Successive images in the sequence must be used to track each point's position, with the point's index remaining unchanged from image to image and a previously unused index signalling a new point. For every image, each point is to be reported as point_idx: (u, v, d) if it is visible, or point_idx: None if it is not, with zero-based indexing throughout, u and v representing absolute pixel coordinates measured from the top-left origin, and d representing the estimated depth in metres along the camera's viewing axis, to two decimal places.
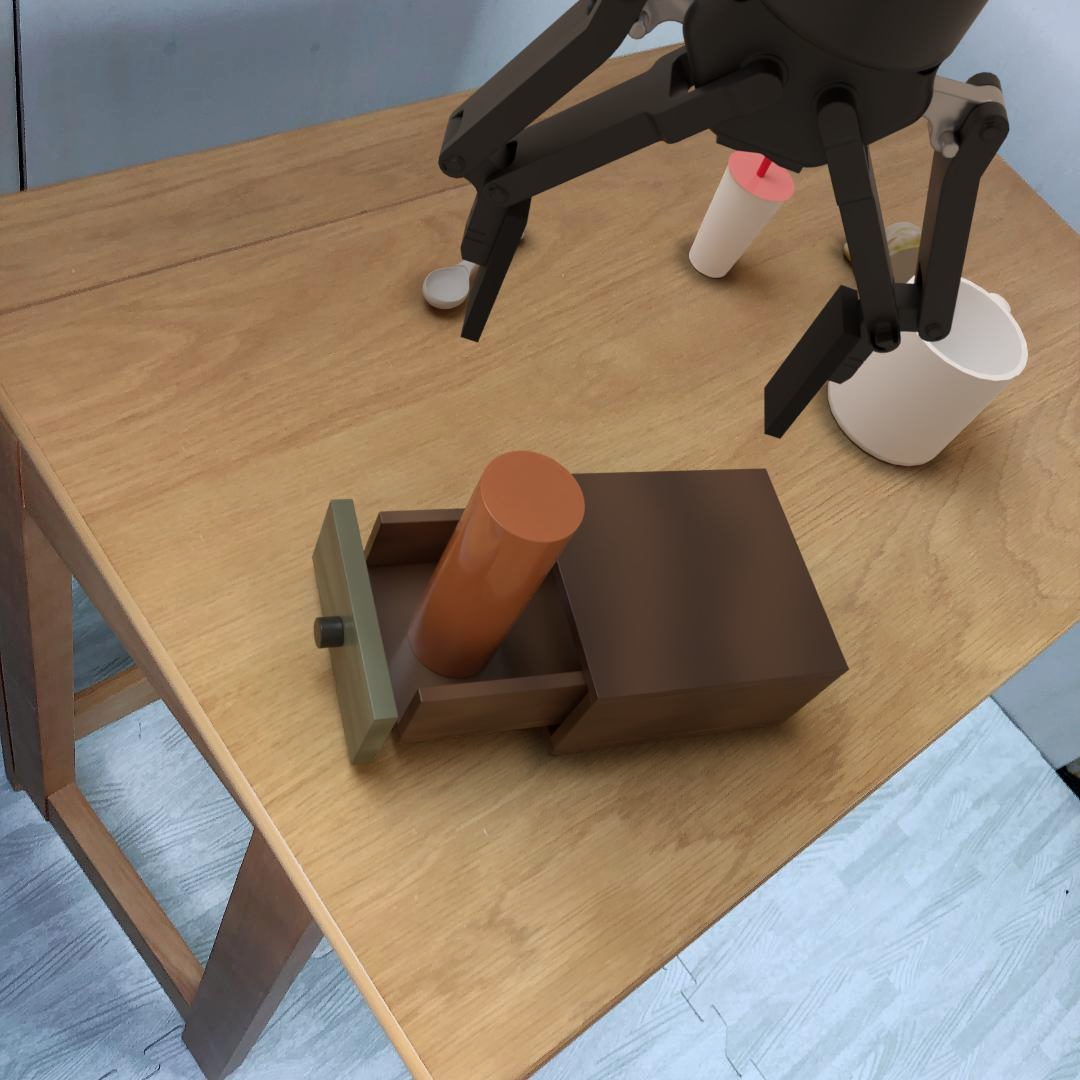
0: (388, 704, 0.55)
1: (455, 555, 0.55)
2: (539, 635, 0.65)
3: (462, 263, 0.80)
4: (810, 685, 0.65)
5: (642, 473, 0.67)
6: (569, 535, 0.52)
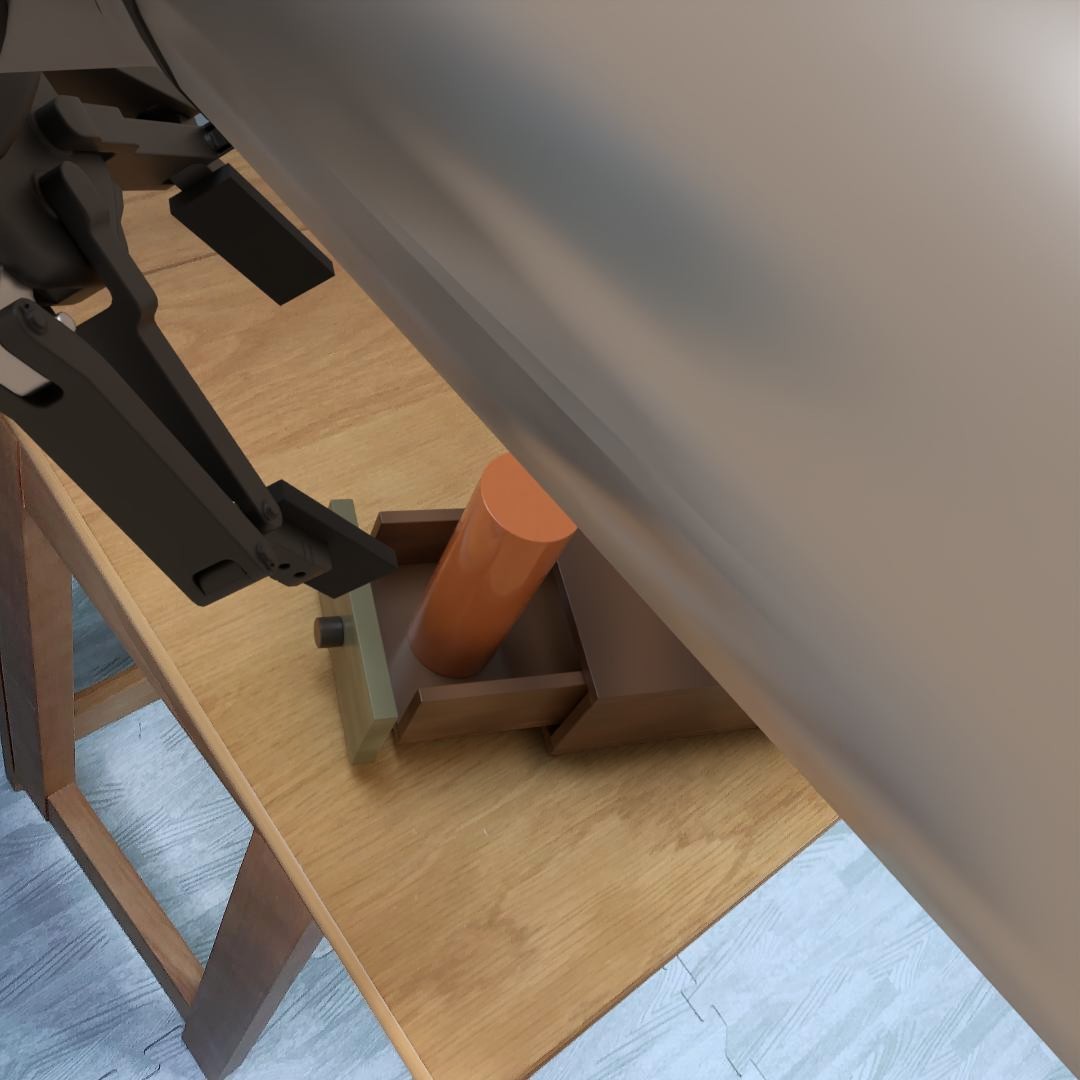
0: (388, 704, 0.55)
1: (455, 555, 0.55)
2: (539, 635, 0.65)
3: None
4: None
5: None
6: (569, 535, 0.52)
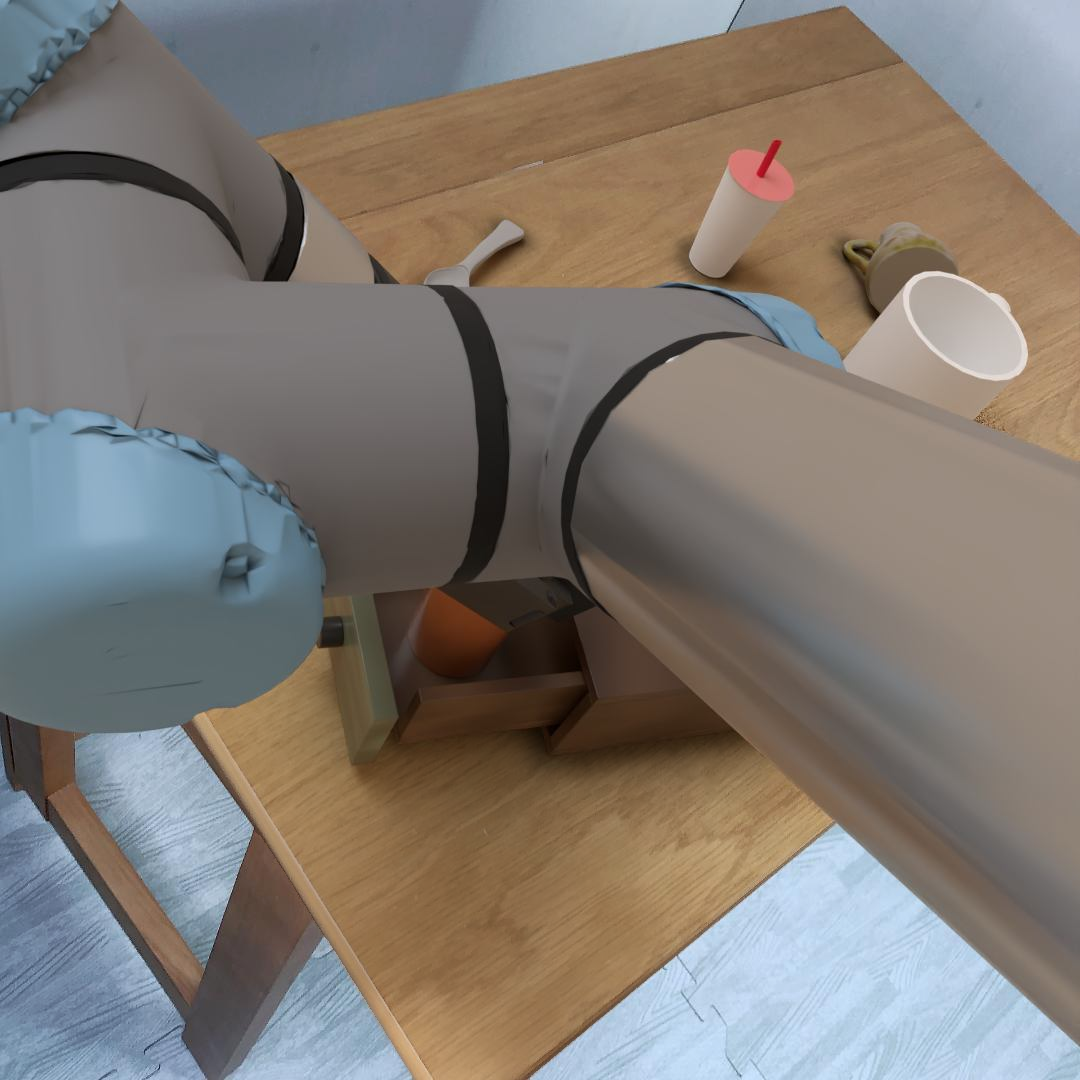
0: (388, 704, 0.55)
1: None
2: (539, 635, 0.65)
3: (462, 263, 0.80)
4: None
5: None
6: None
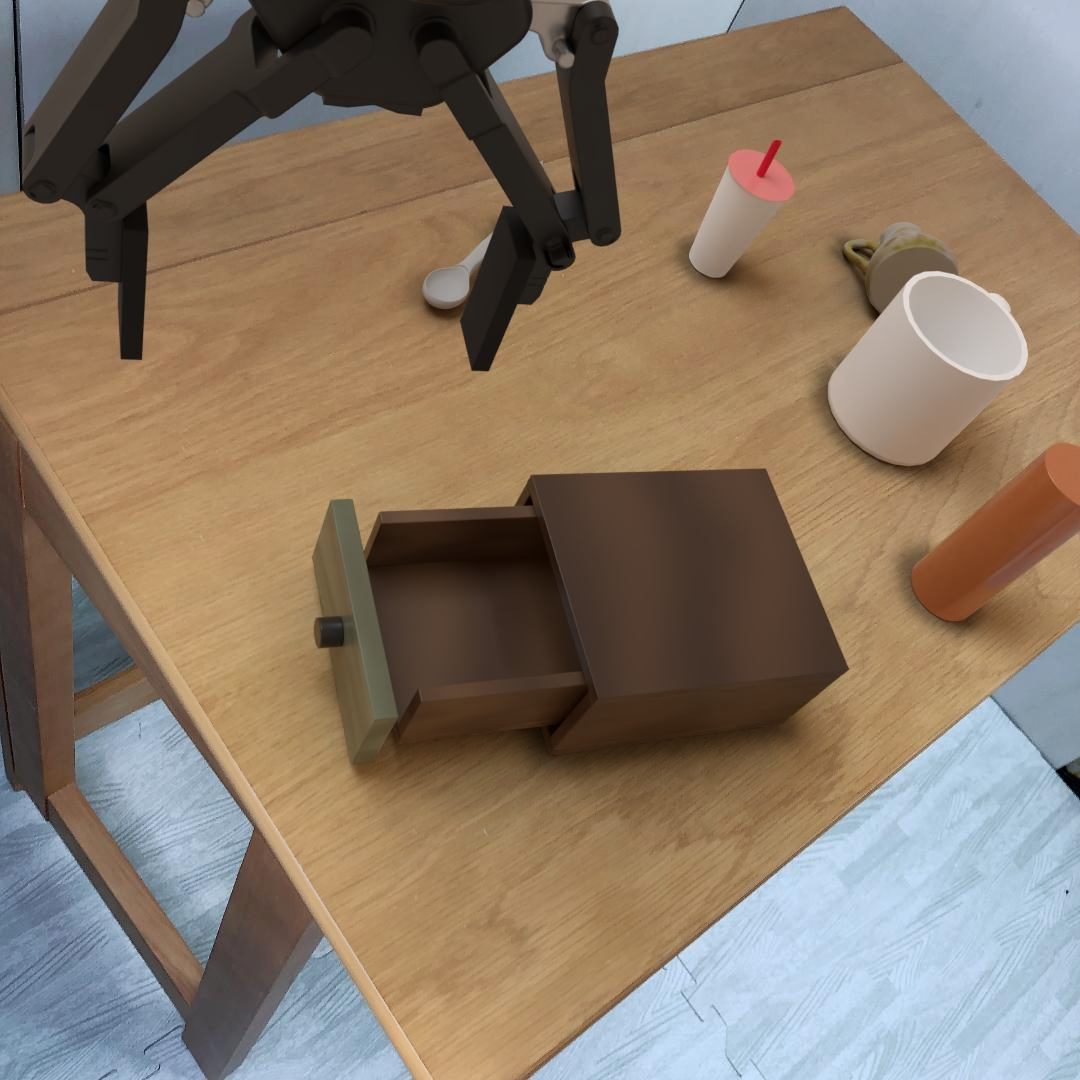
0: (388, 704, 0.55)
1: (1001, 522, 0.72)
2: (539, 635, 0.65)
3: (462, 263, 0.80)
4: (810, 685, 0.65)
5: (642, 473, 0.67)
6: None
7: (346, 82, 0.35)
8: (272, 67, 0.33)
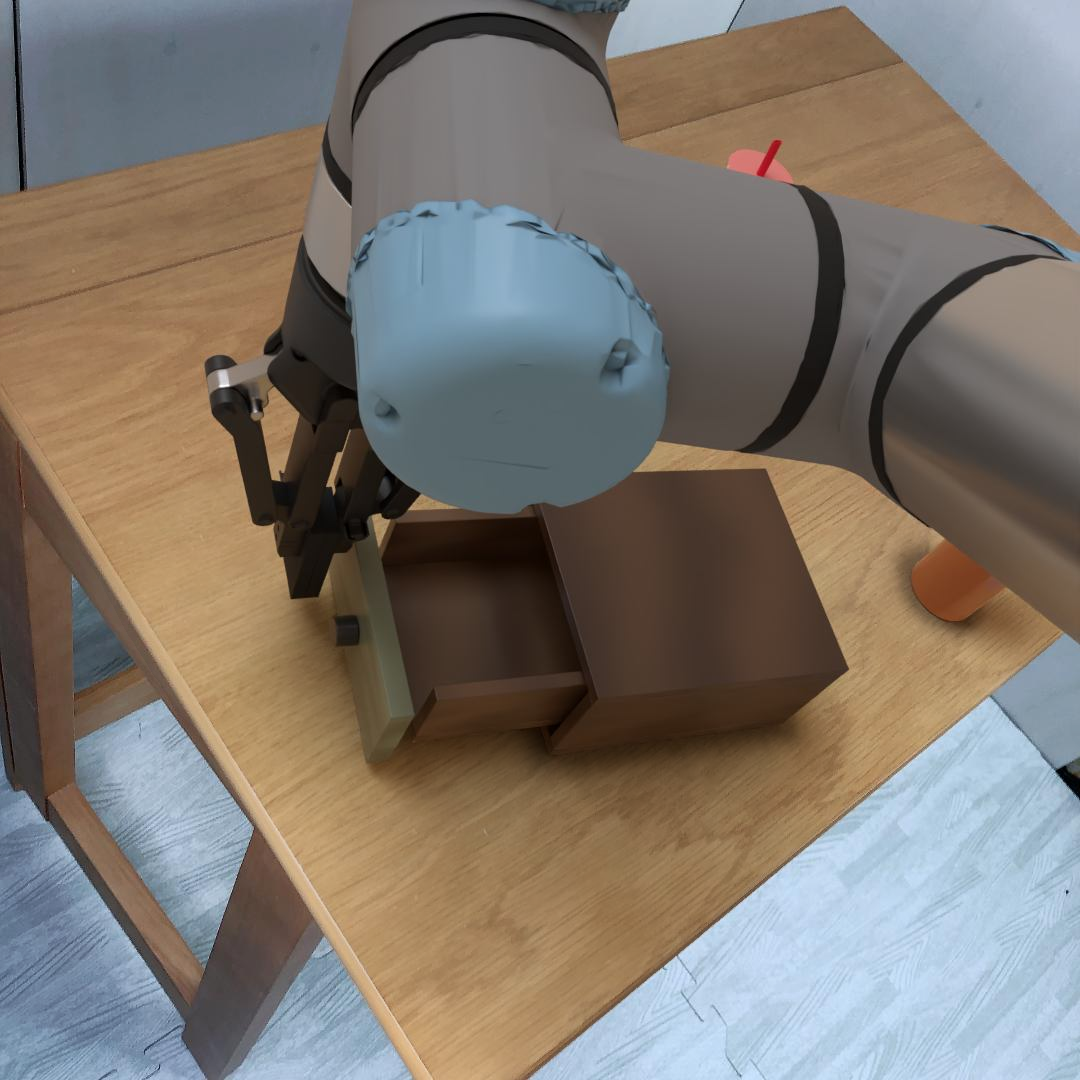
0: (404, 702, 0.55)
1: None
2: (552, 634, 0.66)
3: None
4: (810, 685, 0.65)
5: (642, 473, 0.67)
6: None
7: None
8: (317, 433, 0.48)
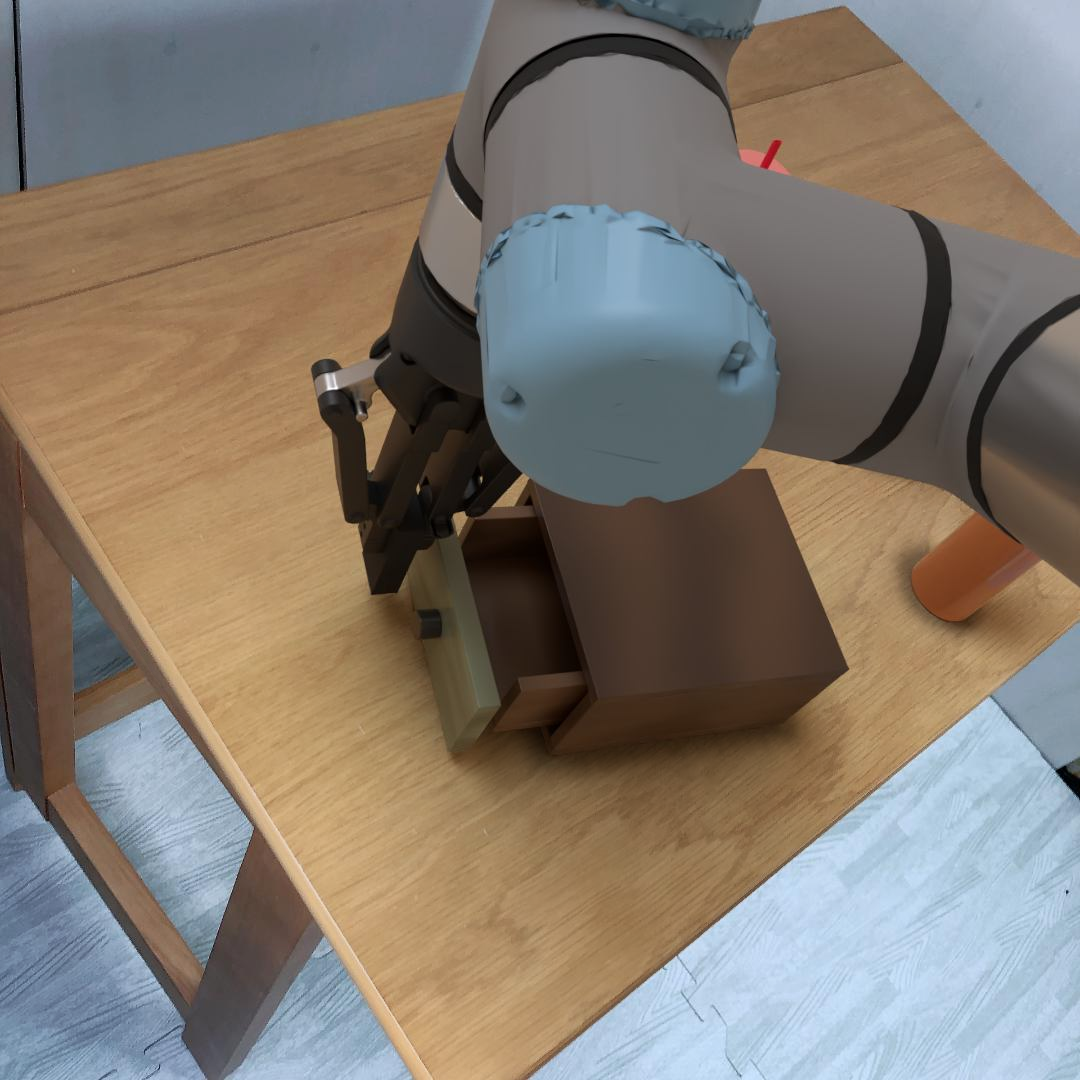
0: (491, 693, 0.57)
1: None
2: None
3: None
4: (810, 685, 0.65)
5: None
6: None
7: None
8: (416, 434, 0.50)
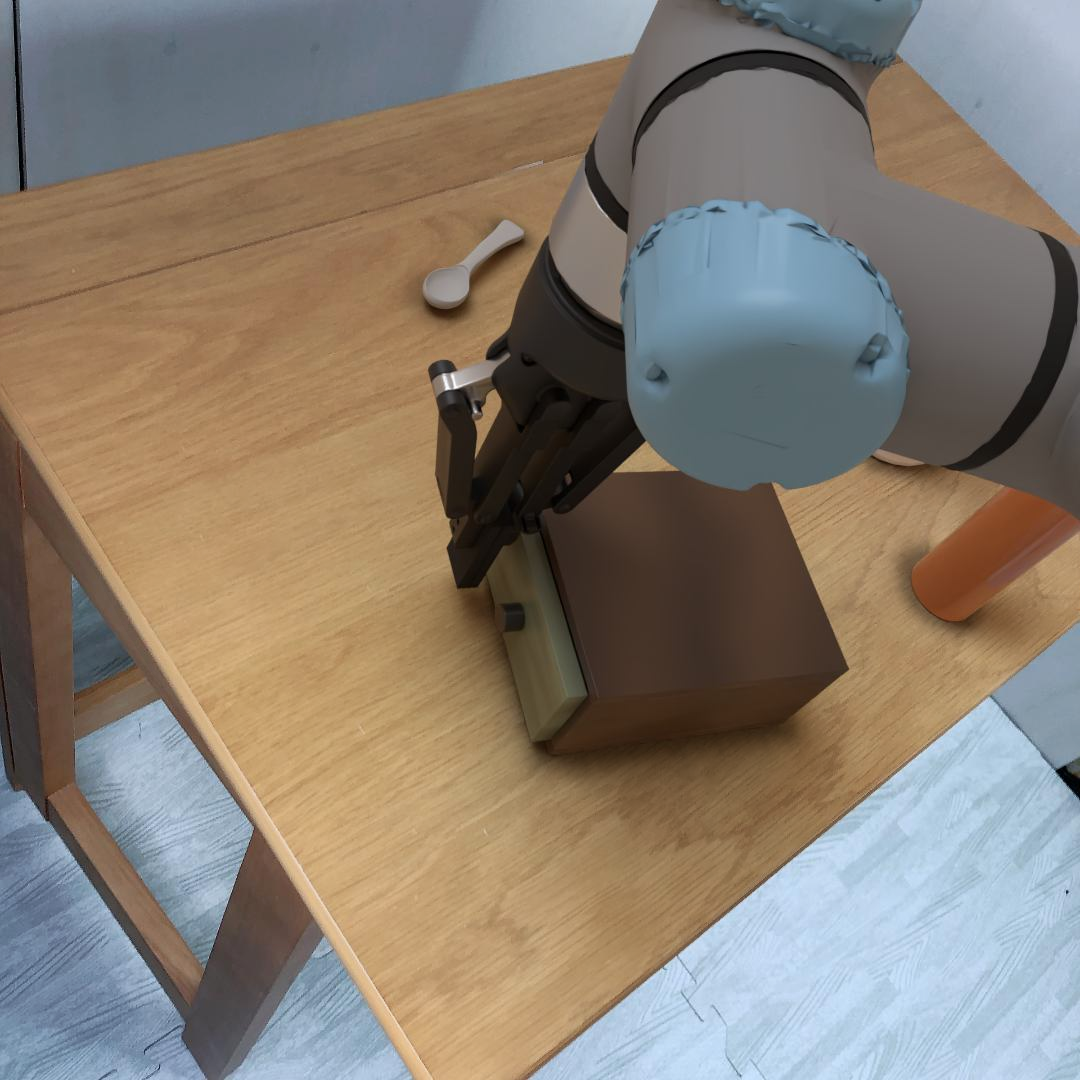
0: (578, 683, 0.59)
1: (1001, 522, 0.72)
2: None
3: (462, 263, 0.80)
4: (810, 685, 0.65)
5: (642, 473, 0.67)
6: None
7: None
8: (525, 432, 0.52)
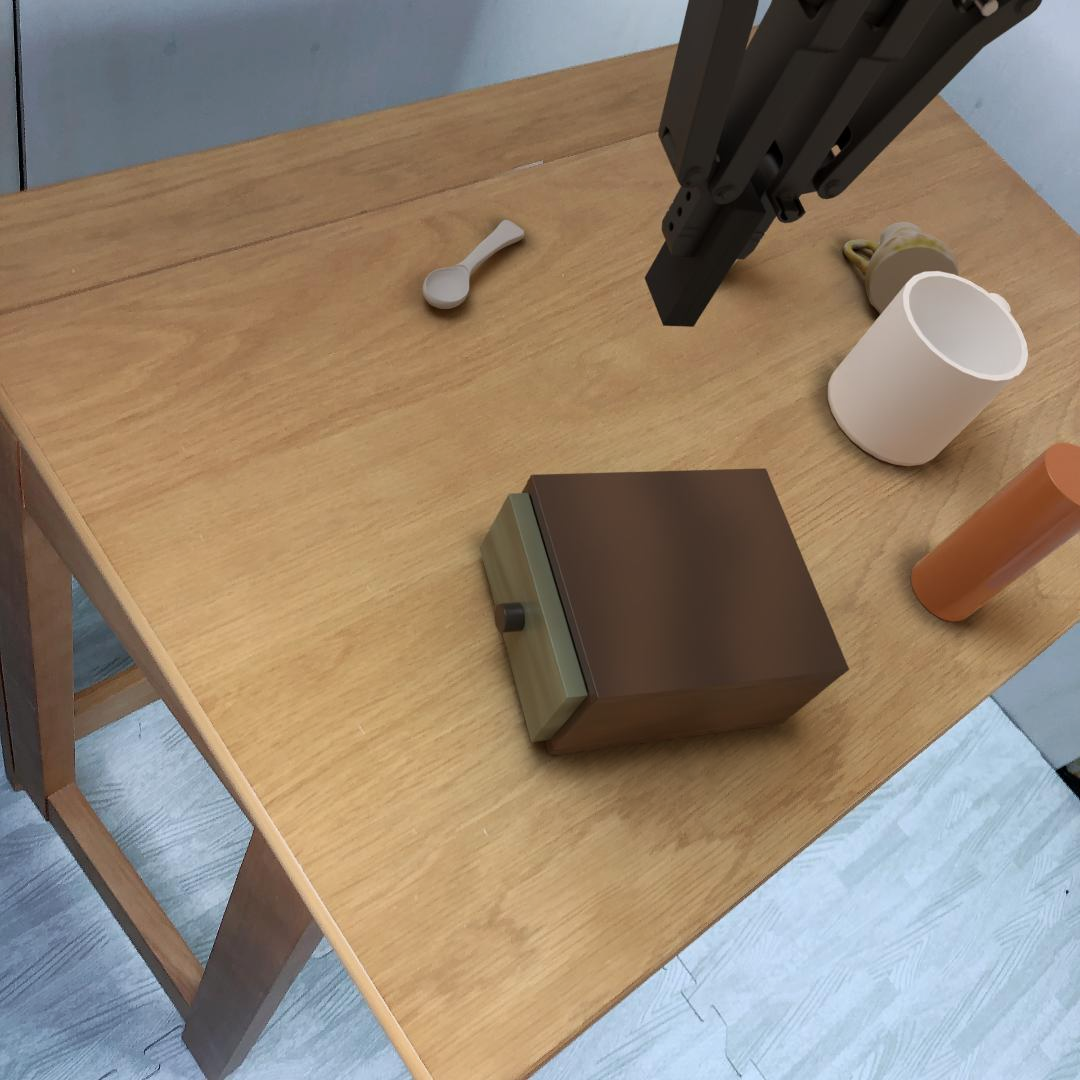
0: (578, 683, 0.59)
1: (1001, 522, 0.72)
2: None
3: (462, 263, 0.80)
4: (810, 685, 0.65)
5: (642, 473, 0.67)
6: None
7: None
8: (823, 12, 0.36)
